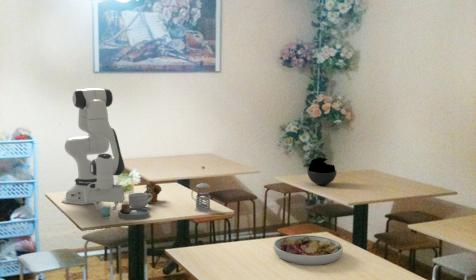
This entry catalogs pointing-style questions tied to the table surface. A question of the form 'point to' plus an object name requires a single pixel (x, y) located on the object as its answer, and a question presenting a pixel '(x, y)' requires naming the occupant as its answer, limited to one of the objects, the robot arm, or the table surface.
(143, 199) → the teacup
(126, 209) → the walnut bead
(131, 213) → the groove tray
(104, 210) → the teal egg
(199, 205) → the french press
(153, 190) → the stuffed squirrel
